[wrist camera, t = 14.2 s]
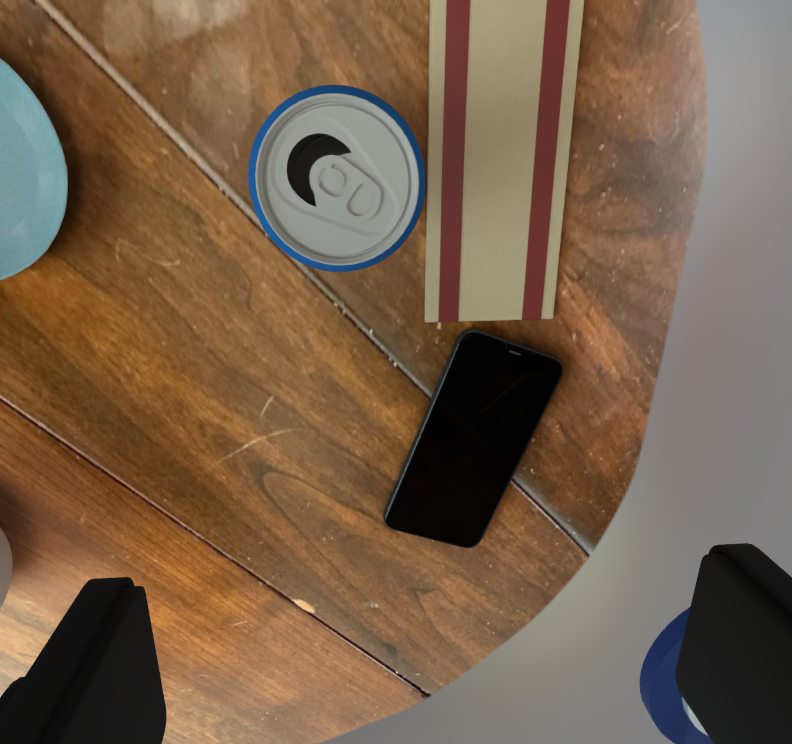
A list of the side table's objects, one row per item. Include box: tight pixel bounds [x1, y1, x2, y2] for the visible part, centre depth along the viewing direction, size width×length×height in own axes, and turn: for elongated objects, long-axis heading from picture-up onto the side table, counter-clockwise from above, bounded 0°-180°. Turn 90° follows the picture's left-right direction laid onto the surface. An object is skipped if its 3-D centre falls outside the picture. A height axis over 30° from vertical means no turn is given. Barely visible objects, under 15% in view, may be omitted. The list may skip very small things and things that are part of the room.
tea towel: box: [424, 0, 584, 322], centre depth 30 cm, size 8×20×1 cm, turn 0°
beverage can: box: [248, 85, 426, 272], centre depth 24 cm, size 6×6×12 cm
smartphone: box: [383, 329, 563, 548], centre depth 35 cm, size 7×1×15 cm
